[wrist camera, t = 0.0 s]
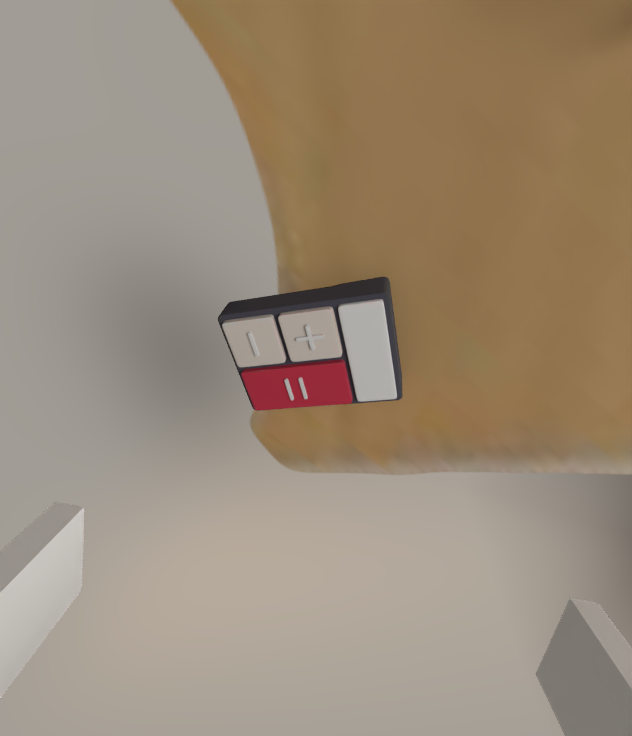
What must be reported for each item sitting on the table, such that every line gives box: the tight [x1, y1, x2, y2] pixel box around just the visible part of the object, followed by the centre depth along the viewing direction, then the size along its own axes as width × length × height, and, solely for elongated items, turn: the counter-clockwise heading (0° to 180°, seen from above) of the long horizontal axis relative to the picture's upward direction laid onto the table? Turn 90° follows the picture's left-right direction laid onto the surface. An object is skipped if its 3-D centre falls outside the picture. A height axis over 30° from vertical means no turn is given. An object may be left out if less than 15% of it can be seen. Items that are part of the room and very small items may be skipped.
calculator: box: [218, 277, 402, 410], centre depth 38 cm, size 11×4×15 cm
